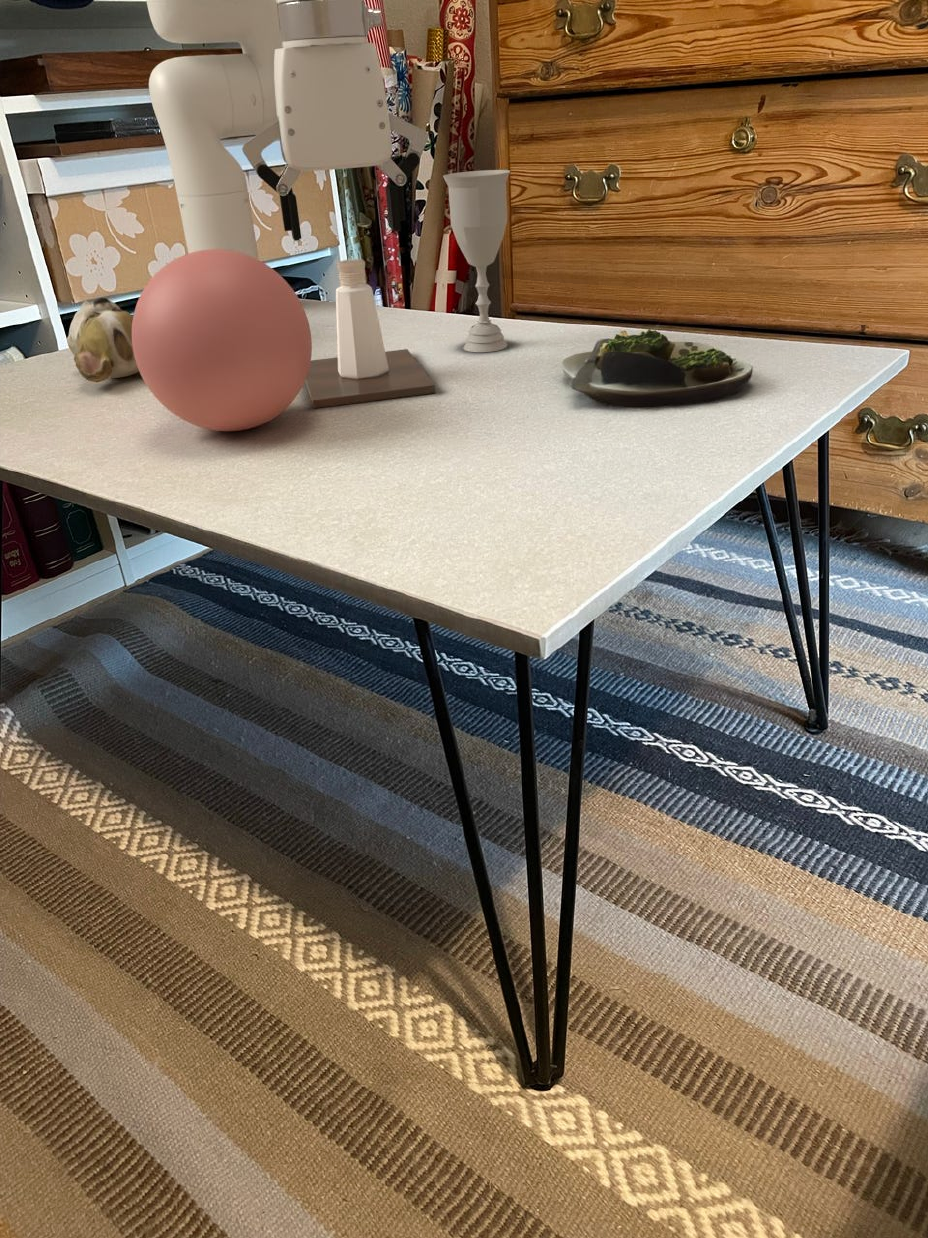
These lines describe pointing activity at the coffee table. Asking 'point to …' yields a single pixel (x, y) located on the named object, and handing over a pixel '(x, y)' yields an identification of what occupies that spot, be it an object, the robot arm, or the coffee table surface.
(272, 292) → the balloon
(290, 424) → the coffee table surface
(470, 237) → the chalice
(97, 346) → the ceramic sculpture
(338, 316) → the pepper shaker
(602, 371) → the salad plate
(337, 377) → the walnut board
